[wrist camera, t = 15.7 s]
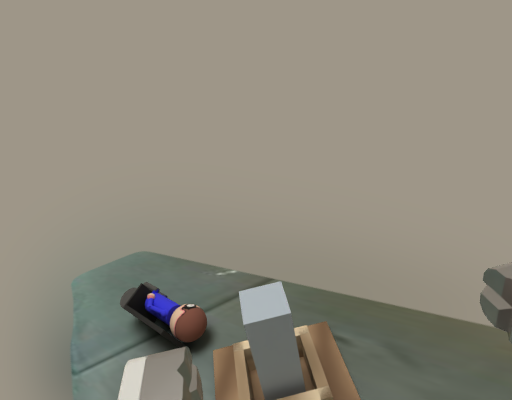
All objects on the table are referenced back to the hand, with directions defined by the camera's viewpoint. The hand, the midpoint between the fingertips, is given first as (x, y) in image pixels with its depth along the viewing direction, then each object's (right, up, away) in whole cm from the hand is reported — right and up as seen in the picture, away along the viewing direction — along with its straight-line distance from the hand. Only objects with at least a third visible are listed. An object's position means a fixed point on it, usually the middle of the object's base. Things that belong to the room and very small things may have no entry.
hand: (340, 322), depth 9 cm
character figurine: (-15, -17, +44) cm, 49 cm away
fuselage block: (+1, -19, +31) cm, 36 cm away
